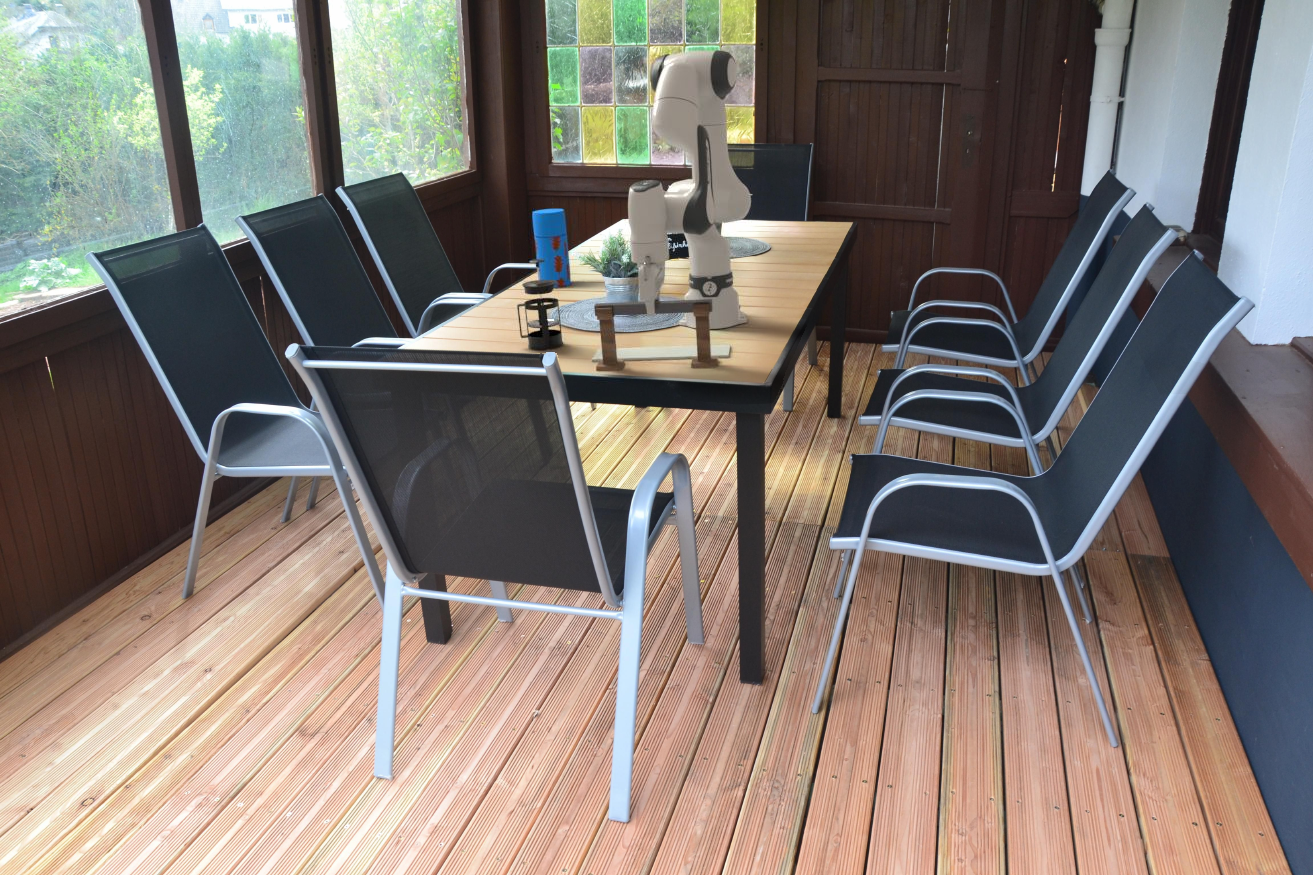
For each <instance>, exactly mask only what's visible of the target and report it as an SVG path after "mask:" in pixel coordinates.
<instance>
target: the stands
mask: <svg viewBox="0 0 1313 875" xmlns="http://www.w3.org/2000/svg"><path fill="white" fill-rule="evenodd" d="M596 312H597V316H596V320H597V321H598V322H599V331H600V343H601V344H600V345H601V349H602V357H603V360H600V361H598V363H597V364H596V366H595V369H596V370H595V371H621V370H622V368H623V367H624V364H625V361H624V359H617V352H616V348H617V343H616V342H617V341H616V328H615V316H616V315H612V308H597V309H596ZM693 313H694V316H695V318H696V328H695V332H696V333H695V334H696V346H697V357H693V359H691V362H690V367H691V368H692V369H693V368H694V369H695V368H696V369H697V368H698V369H699V368H700V369H701V368H717V365H718V360H719V358H718V356H711V346H710V345H711V329H710V325H709V314H710V312H709V304H697V305H693Z"/></svg>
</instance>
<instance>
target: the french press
mask: <svg viewBox="0 0 1313 875" xmlns="http://www.w3.org/2000/svg"><path fill="white" fill-rule="evenodd" d="M544 261H545V260H543V259H537V258H536V259H531V260H529V262H528V263H530V264H535V268H536V270H537V280H536V279H535V280H531V281H526V282H524V283H522V287H523V288H524V293H525V294H526V295H539V297H537V298H533V299H528V300H526V301H524V303H517V305H516V308H517V309H516V310H517V317H518V326H519V334H520V338H521V339H528V341H527V342H528V345H527V348H528V349H530V350H533V351H548V350H547V349H550V350H554V349H559V348H561V347H563V345H564V341H563V334H562V324H561V313H560V304H559V299H558V298H555V297H542V295H545V294H550V293H552V292H553V291H554V289H555V288H554V286H555V284H556V283H557V282H556V281H555V280H540V277H539V268H538V267H539V263H541V262H544ZM520 307H524V314H525V322H526V332H527V334H524V335H523V334H522V323H521V314H520ZM555 308H557V312H558V319H556V318H549V317H548V310H551V309H552V310H553V309H555ZM527 311H537V313H538V315H537V317H538V319H533V320H531V321H528V315H527ZM557 325H559V329H551V327H555V326H557ZM529 328H533V329H538V330H534V331H532V332H529Z"/></svg>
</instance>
